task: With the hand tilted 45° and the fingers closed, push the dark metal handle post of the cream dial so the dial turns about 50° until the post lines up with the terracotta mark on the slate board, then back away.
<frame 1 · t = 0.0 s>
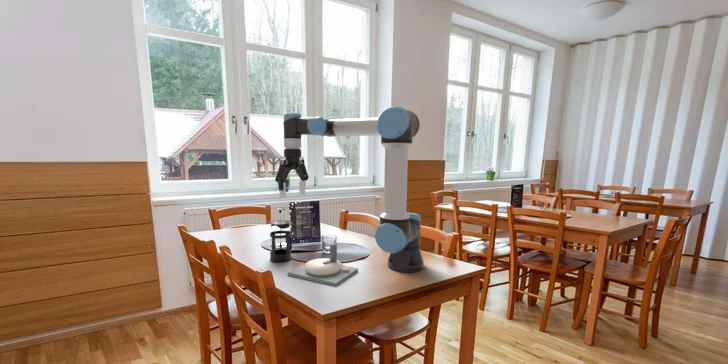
hand: (292, 196, 147), 28 cm above the table, tool pointing down, fingers open, 13 cm apart
dial board: (323, 273, 131), on the table
dial: (323, 257, 130), point 6 cm above the table, hinge at 0.0°
vase: (396, 250, 163), on the table
french press: (281, 259, 147), on the table
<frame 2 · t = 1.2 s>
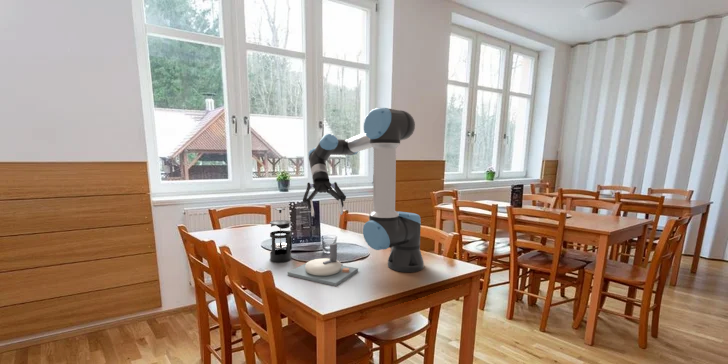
hand: (327, 213, 142), 21 cm above the table, tool tilted 45°, fingers open, 12 cm apart
nothing on the table moved.
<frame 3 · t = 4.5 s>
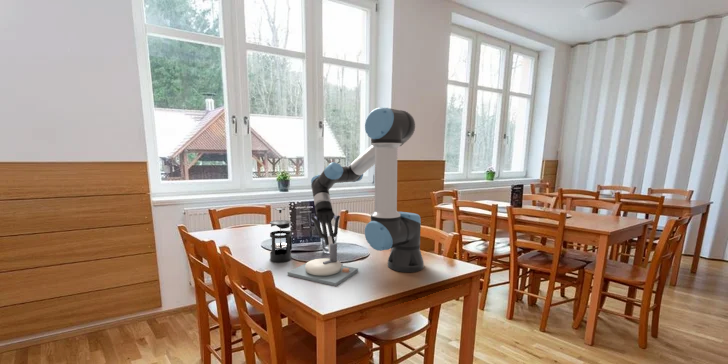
hand: (331, 251, 136), 7 cm above the table, tool tilted 45°, fingers closed
dial: (323, 257, 130), point 6 cm above the table, hinge at 0.7°, touching gripper
everything else where it was.
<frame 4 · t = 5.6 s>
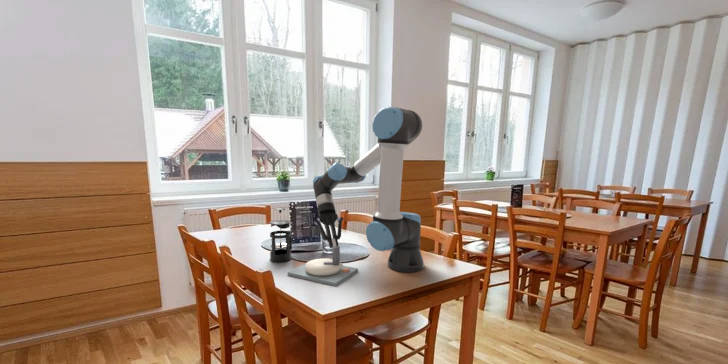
hand: (335, 254, 133), 7 cm above the table, tool tilted 45°, fingers closed
dial: (323, 257, 130), point 6 cm above the table, hinge at 43.4°, touching gripper
everything else where it was.
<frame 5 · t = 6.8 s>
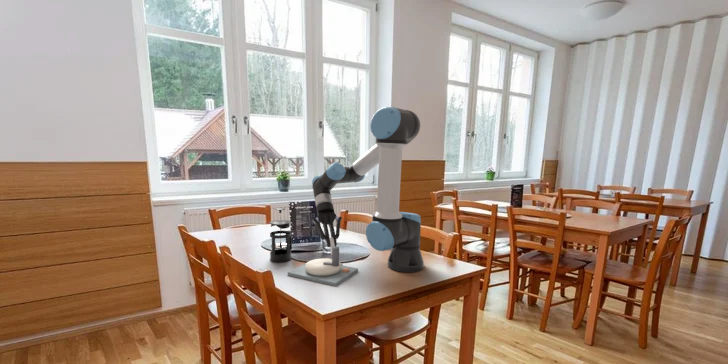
hand: (333, 253, 133), 7 cm above the table, tool tilted 45°, fingers closed
dial: (323, 257, 130), point 6 cm above the table, hinge at 56.1°
everything else where it was.
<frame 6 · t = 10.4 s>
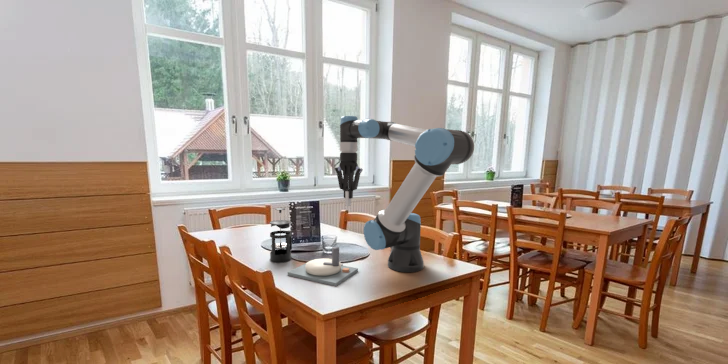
hand: (348, 205, 146), 24 cm above the table, tool pointing down, fingers closed
nothing on the table moved.
at the end: dial at +56° (first picture: +0°) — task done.
